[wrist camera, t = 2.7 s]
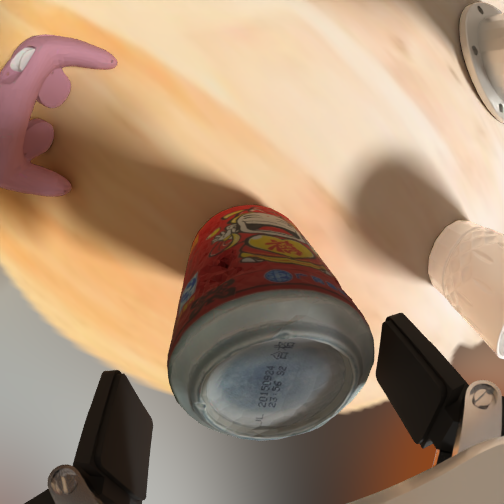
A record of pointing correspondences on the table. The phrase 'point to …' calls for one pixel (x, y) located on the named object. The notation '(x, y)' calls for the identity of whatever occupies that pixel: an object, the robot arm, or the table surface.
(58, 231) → the table surface
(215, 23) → the table surface
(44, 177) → the video game controller
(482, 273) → the white cup
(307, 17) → the table surface
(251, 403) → the soda can
